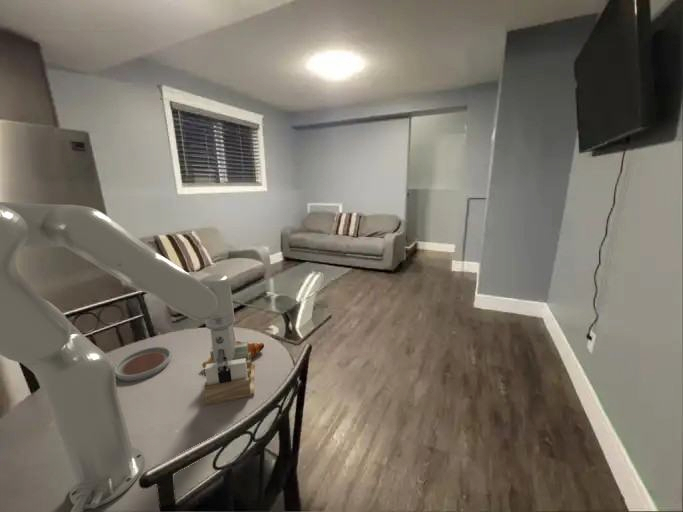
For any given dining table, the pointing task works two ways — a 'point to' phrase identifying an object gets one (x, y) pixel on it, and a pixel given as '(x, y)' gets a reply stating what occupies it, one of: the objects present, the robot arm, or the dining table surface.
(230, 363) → the white rectangular slab
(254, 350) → the croissant
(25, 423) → the dining table surface
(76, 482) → the robot arm
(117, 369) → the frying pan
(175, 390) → the dining table surface
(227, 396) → the rack
